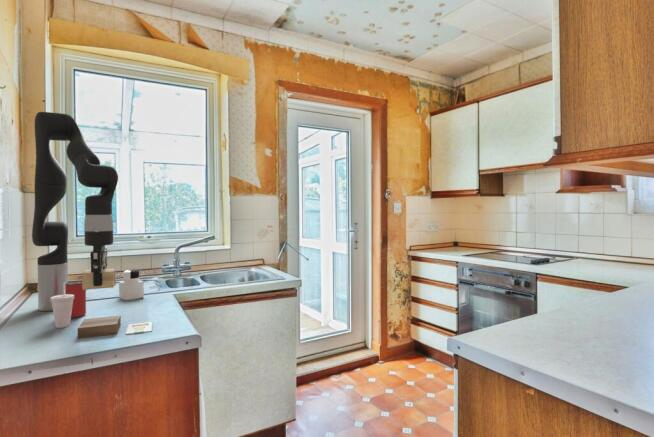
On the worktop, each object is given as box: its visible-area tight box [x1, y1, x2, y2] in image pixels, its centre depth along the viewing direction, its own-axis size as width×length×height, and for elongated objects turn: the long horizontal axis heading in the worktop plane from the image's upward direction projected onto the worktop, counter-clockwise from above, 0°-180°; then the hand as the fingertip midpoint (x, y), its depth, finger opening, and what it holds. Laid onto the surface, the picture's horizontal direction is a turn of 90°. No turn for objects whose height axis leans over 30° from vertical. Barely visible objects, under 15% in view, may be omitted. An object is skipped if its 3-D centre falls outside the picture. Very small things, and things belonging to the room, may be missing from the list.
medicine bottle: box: [118, 269, 145, 301], centre depth 157 cm, size 7×7×12 cm
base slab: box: [77, 315, 122, 339], centre depth 113 cm, size 10×10×3 cm
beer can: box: [65, 280, 87, 319], centre depth 130 cm, size 7×7×12 cm
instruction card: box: [125, 321, 153, 336], centre depth 116 cm, size 10×7×1 cm
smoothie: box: [50, 283, 74, 329], centre depth 118 cm, size 6×6×14 cm
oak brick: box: [81, 268, 117, 290], centre depth 113 cm, size 6×8×5 cm
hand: (99, 283), depth 113 cm, fingers closed on oak brick, 6 cm apart
